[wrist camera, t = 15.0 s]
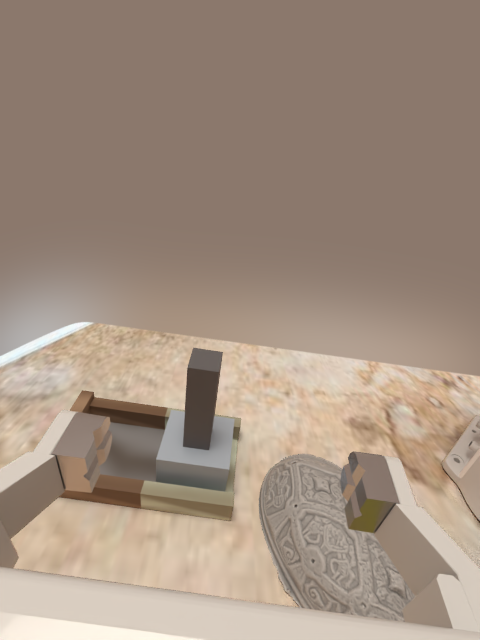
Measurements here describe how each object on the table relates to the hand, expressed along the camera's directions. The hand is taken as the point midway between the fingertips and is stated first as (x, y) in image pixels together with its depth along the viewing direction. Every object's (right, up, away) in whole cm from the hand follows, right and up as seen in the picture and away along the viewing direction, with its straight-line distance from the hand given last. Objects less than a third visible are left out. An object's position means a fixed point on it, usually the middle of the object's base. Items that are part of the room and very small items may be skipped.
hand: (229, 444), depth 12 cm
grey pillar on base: (-5, -14, +32) cm, 35 cm away
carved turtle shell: (+11, -21, +26) cm, 36 cm away
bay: (-10, -13, +32) cm, 36 cm away
